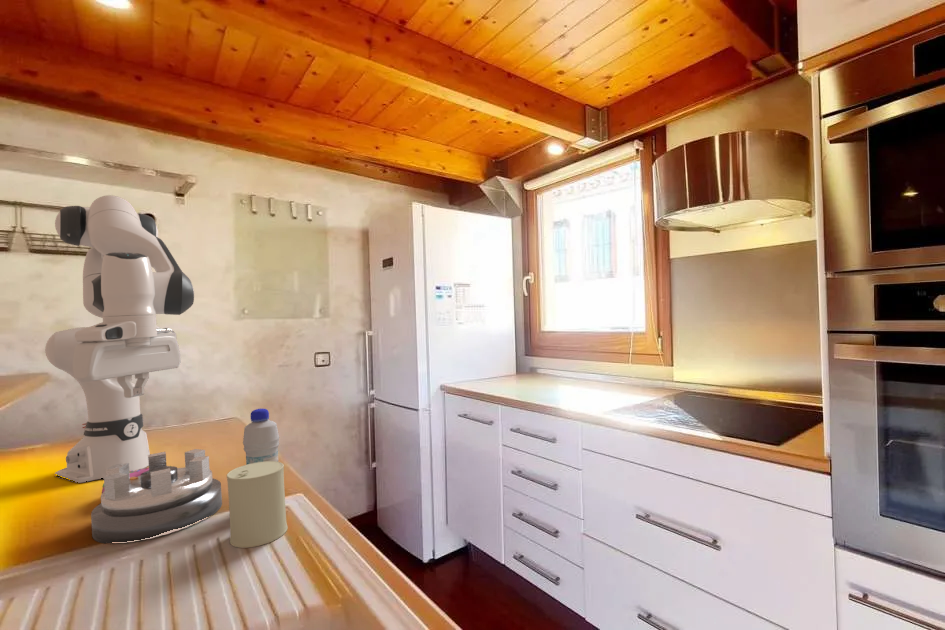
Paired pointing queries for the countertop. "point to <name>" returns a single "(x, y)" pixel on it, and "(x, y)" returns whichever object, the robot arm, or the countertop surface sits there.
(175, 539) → the countertop surface
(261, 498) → the can
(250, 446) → the bottle
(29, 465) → the countertop surface
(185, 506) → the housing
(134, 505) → the toothed metal gear
